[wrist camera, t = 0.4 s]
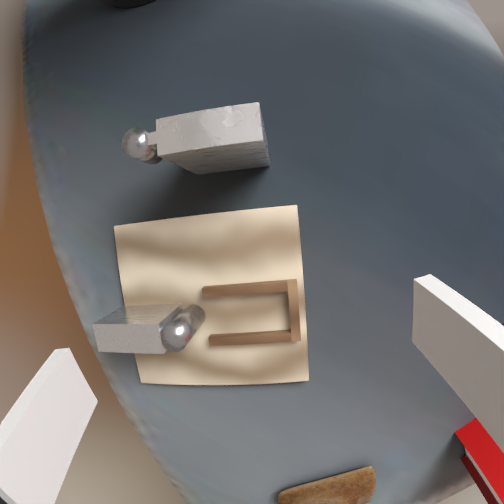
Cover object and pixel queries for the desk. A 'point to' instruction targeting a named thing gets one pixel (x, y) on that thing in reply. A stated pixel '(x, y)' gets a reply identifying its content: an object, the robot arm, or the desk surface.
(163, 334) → the fixed leaf
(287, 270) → the hinge base
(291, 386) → the desk surface
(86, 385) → the robot arm
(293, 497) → the brown flared upright piece
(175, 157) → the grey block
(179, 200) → the desk surface
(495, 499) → the book
